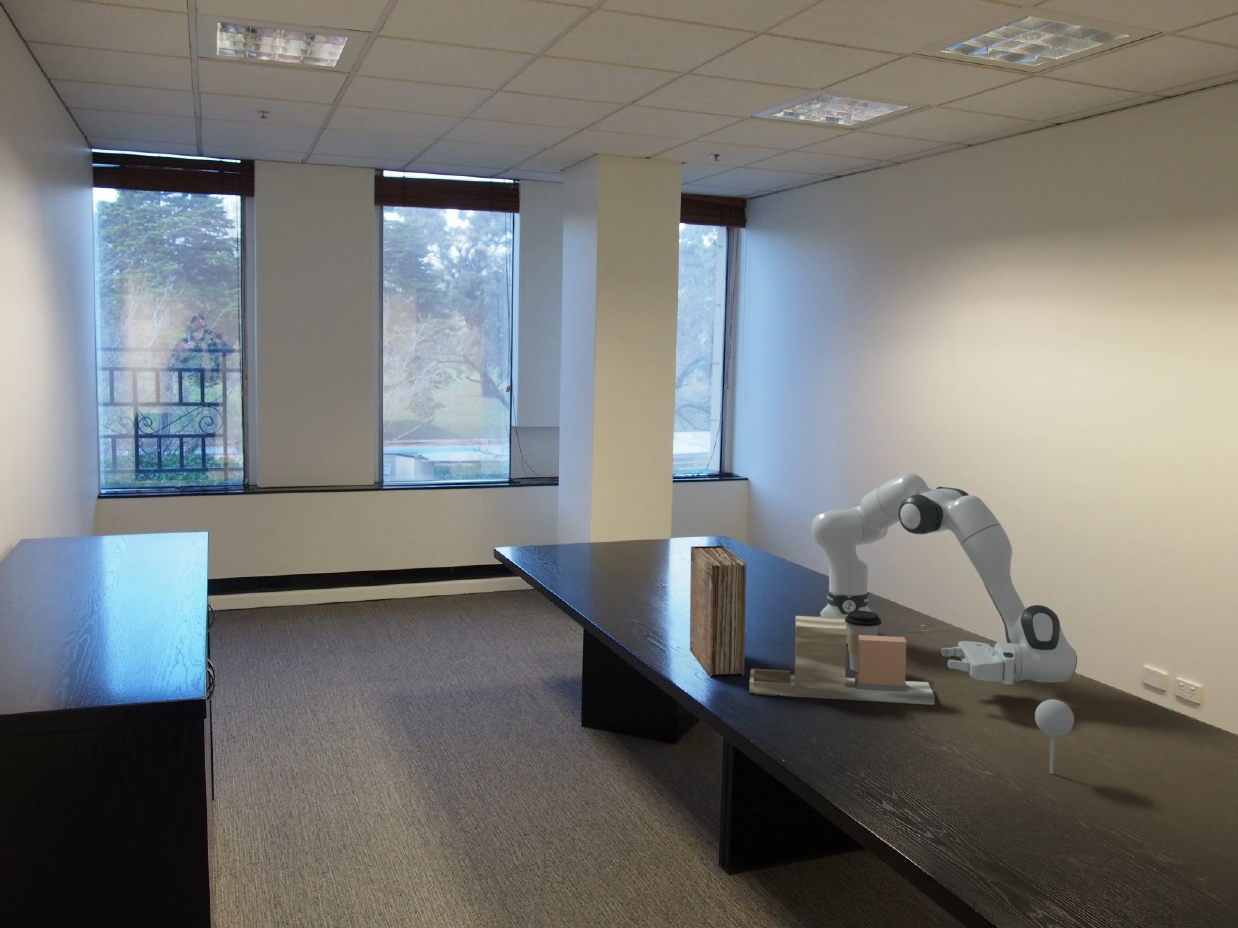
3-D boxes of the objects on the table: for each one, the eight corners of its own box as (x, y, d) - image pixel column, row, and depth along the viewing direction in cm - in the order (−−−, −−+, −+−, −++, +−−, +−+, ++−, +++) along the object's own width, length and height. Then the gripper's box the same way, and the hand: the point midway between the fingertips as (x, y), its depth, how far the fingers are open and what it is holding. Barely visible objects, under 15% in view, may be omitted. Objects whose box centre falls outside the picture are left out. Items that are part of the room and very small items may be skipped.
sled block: (854, 680, 247) (856, 633, 246) (904, 683, 245) (905, 636, 244) (856, 688, 241) (858, 640, 240) (907, 691, 239) (909, 643, 238)
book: (744, 676, 257) (746, 563, 254) (709, 677, 256) (711, 563, 253) (721, 648, 282) (722, 545, 279) (689, 649, 281) (690, 546, 278)
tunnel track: (750, 679, 254) (752, 613, 252) (927, 689, 247) (930, 621, 245) (749, 693, 243) (750, 624, 242) (934, 704, 236) (937, 633, 234)
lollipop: (1060, 765, 200) (1064, 694, 199) (1077, 780, 193) (1081, 706, 192) (1026, 766, 200) (1029, 694, 199) (1042, 780, 193) (1045, 706, 192)
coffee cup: (854, 675, 258) (856, 619, 256) (837, 665, 267) (838, 611, 265) (886, 673, 260) (888, 617, 259) (868, 662, 269) (870, 608, 268)
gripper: (995, 636, 248) (938, 633, 250) (1014, 661, 228) (952, 657, 230) (994, 660, 249) (937, 657, 251) (1013, 687, 229) (951, 683, 231)
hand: (944, 657), depth 240 cm, fingers open, 8 cm apart
